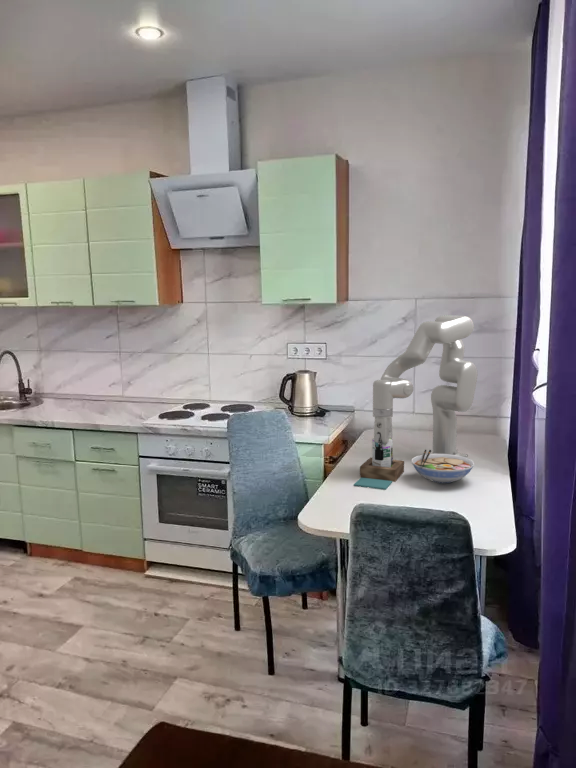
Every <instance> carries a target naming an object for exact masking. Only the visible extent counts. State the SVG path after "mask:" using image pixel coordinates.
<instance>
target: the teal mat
mask: <svg viewBox="0 0 576 768" xmlns="http://www.w3.org/2000/svg"><path fill="white" fill-rule="evenodd" d="M392 484H393V482H392V481H388V480H380V479H371V478H362V477H361V478H360V477H359V479H358V480H357V481H355V483H353V487H359V486H361V487H362V488H367V487H369V488H370V489H377V490H384V491H385V490H387V489H388V488H389V487H390V486H391V485H392ZM361 487H360V488H361ZM369 488H368V489H369Z"/></svg>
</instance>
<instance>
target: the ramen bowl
mask: <svg viewBox="0 0 576 768" xmlns="http://www.w3.org/2000/svg"><path fill="white" fill-rule="evenodd" d="M431 452H432V449H429V451H428V452H427V449H424V451H423V454H421V455H416V456H414V457H413V458H411V464H412V465H413V467H414V470H416V472H417V473H418V474H419V475H420V476H421V477H424V478H425V479H427V480H430V481H432V482H434V483H436V484H437V483H438V484H450V483H453V482H456V481H459V480H462V479H463V478H465V477H466V476H467V475H468V474H469V473H470V472H471V471H472V470H473V468H474V467H475V463H474V460H473V459H470V458H468V457H467V458H466V457H462V456H458V455H451V454H432V453H431Z"/></svg>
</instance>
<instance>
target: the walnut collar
mask: <svg viewBox="0 0 576 768" xmlns="http://www.w3.org/2000/svg"><path fill="white" fill-rule="evenodd" d="M403 473H405V460H403V459H401V460H400V459H393V466H392V467H391V468H390V467H380V466H372V456H370V457H369V458H367V460H366V461H364V462H363V463H362V464H361V465H360V466H359V479H360V478H361V477H362V478H371V479H380V480H388V481H392V483H396V482H397V480H398V479H399V478H400V477H401V476H402V475H403Z"/></svg>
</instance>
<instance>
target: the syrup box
mask: <svg viewBox="0 0 576 768" xmlns="http://www.w3.org/2000/svg"><path fill="white" fill-rule="evenodd" d="M379 442H382V441H381V440H379ZM393 442H394V441H393V438H392V439H391V438H390V439H389V442H388V443H387V444H385V443H384V444H383V450H384V456H383V460H375V442H374V437H373V438H371V444H372V445H371V452H372V453H371V457H372V466H380V467H390V468H391V467H392V466H393V460H394V459H393V458H394V457H393V456H394V453H393V452H394V451H393V450H394V449H393V448H394V447H393V446H394V444H393ZM380 445H381V444H380Z"/></svg>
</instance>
